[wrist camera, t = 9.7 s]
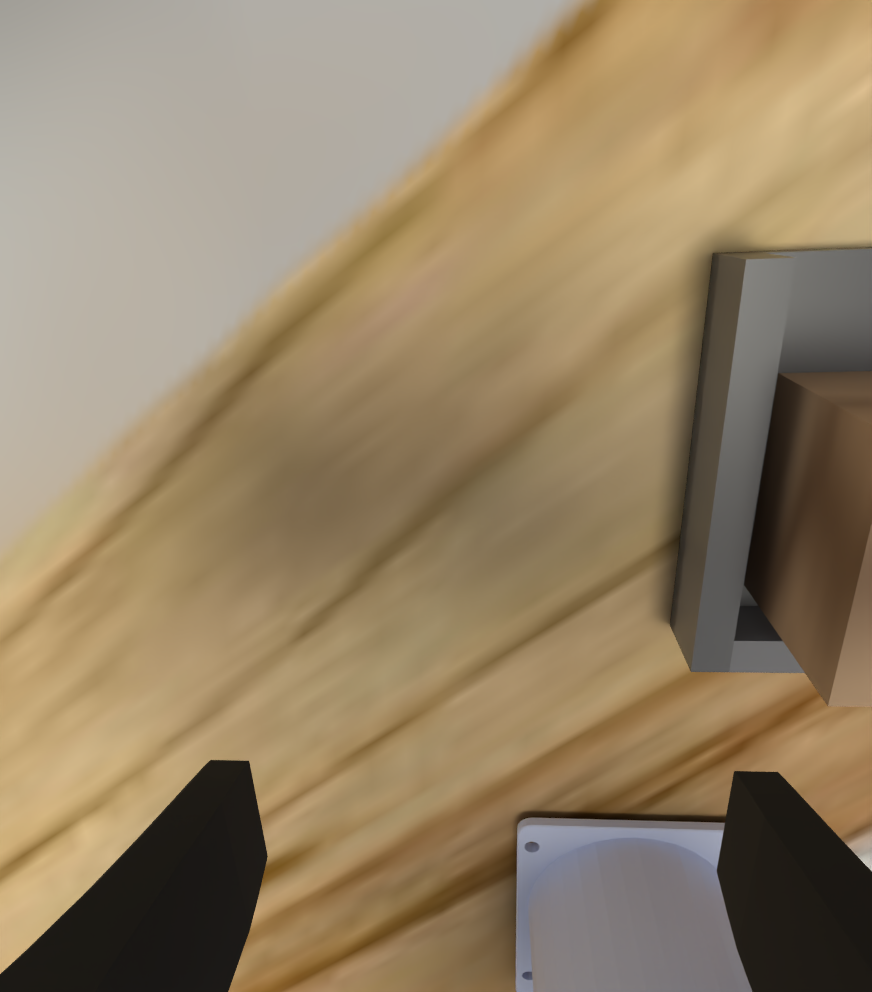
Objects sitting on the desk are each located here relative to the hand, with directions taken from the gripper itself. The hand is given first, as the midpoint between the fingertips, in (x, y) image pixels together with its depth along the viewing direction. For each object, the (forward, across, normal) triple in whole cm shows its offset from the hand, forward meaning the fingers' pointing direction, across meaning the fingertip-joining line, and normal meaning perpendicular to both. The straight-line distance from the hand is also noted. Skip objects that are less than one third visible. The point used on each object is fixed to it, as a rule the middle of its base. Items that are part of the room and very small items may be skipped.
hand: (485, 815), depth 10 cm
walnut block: (+9, -9, -1) cm, 13 cm away
